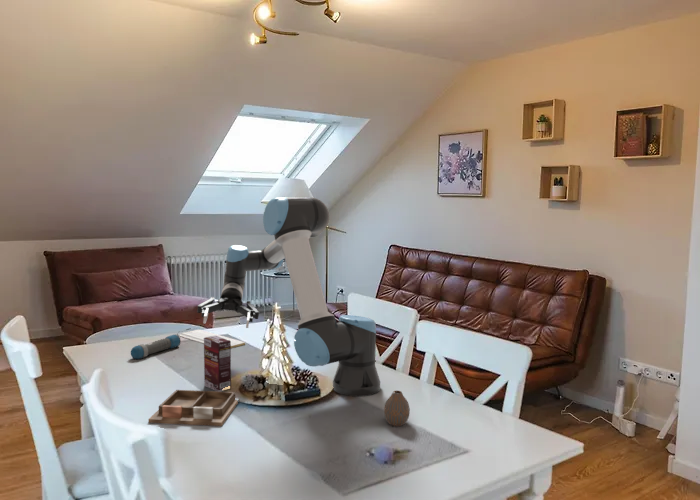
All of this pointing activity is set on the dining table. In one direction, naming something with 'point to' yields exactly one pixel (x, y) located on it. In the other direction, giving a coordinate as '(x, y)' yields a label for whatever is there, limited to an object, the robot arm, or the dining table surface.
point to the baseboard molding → (200, 335)
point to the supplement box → (217, 363)
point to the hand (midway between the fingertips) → (226, 322)
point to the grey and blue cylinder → (155, 346)
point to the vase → (397, 409)
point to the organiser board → (195, 408)
